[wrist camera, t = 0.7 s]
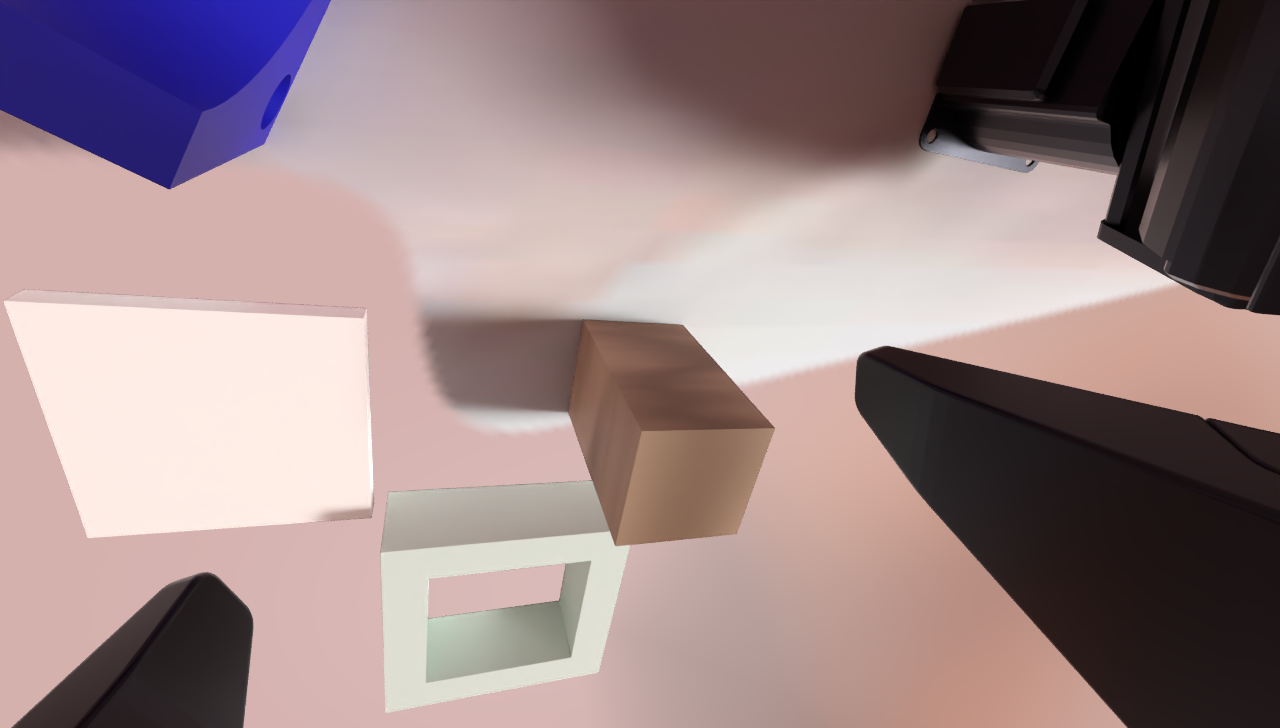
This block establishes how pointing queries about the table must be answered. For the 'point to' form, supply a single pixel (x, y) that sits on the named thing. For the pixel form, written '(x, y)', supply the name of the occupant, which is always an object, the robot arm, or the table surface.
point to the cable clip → (154, 76)
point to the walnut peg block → (663, 433)
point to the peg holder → (486, 542)
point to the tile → (201, 408)
